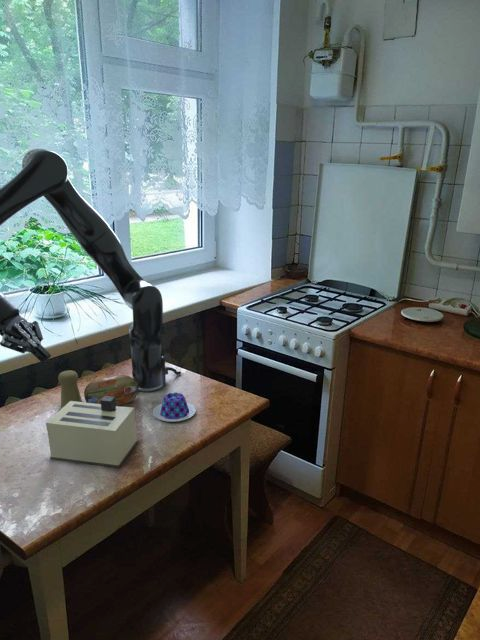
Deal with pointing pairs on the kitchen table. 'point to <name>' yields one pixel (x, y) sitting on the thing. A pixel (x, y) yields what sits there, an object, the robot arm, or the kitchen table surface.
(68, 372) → the pepper mill
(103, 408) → the slider button
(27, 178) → the robot arm
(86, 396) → the tin
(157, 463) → the kitchen table surface
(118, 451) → the toaster
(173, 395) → the pudding
